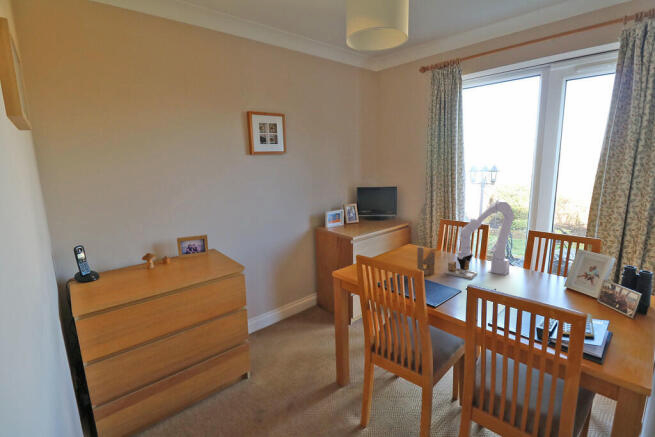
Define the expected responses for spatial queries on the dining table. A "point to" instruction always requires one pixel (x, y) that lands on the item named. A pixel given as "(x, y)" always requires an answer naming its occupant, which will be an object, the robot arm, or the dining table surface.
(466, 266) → the tan cardboard box
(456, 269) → the rail
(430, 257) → the wooden block
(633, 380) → the dining table surface
